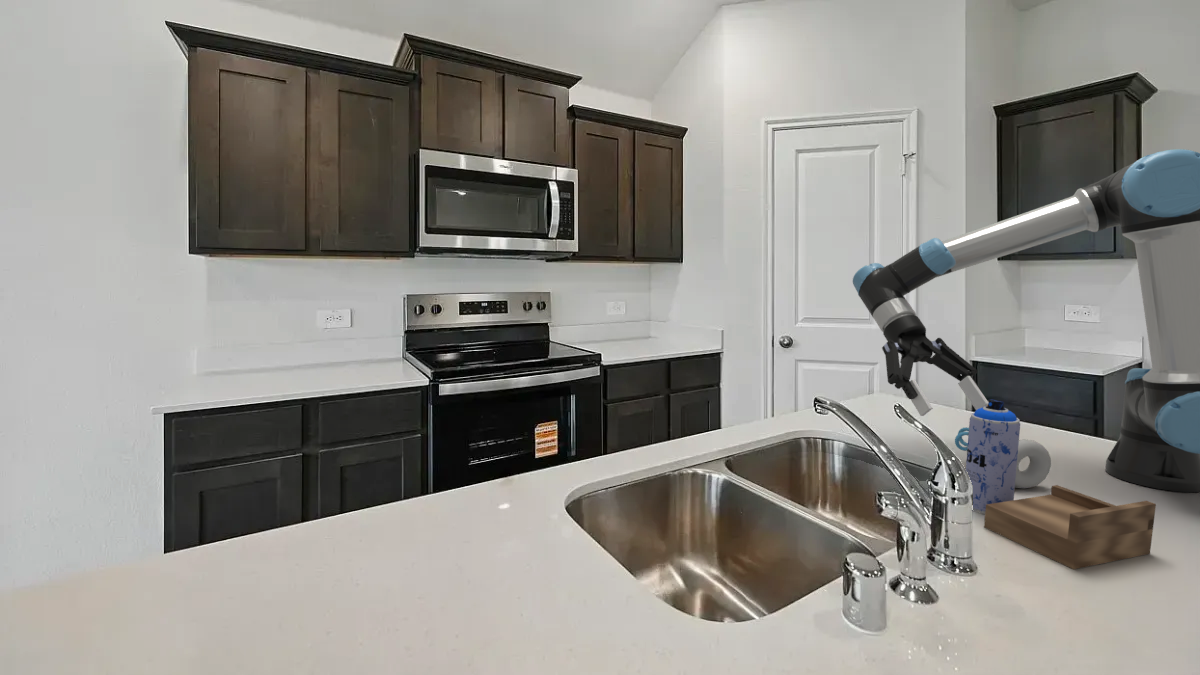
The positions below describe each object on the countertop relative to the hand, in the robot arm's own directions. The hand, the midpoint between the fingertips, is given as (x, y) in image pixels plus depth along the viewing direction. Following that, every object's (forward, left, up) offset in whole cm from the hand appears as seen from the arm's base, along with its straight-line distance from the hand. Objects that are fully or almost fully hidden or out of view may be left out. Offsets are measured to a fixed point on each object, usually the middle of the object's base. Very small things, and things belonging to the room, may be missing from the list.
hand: (955, 409), depth 107 cm
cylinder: (-17, -7, -17) cm, 25 cm away
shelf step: (-1, +20, -16) cm, 26 cm away
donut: (-16, +2, -17) cm, 23 cm away
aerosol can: (-1, +7, -17) cm, 18 cm away
